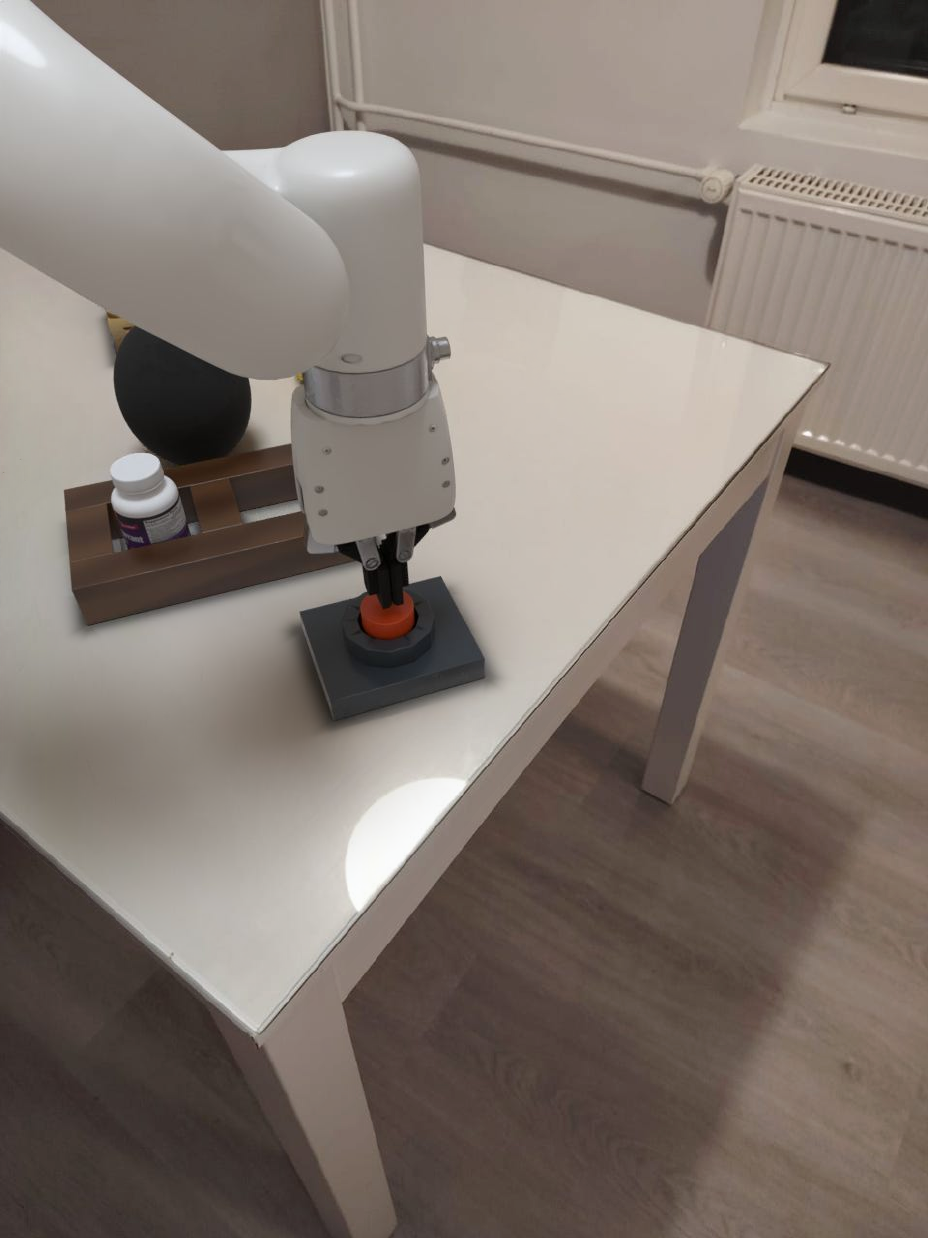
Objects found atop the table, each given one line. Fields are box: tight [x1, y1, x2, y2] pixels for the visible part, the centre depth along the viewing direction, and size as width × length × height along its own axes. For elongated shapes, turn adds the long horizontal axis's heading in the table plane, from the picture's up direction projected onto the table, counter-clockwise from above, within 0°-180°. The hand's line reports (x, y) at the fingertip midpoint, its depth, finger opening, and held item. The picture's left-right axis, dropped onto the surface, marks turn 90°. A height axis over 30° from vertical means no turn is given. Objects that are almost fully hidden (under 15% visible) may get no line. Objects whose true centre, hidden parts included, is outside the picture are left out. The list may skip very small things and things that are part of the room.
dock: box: [63, 442, 378, 626], centre depth 78 cm, size 14×25×4 cm, turn 111°
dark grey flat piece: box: [299, 575, 486, 722], centre depth 67 cm, size 12×10×4 cm
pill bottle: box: [109, 452, 192, 550], centre depth 74 cm, size 5×5×10 cm
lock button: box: [360, 591, 414, 640], centre depth 66 cm, size 4×4×2 cm
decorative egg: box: [112, 326, 253, 466], centre depth 83 cm, size 12×12×15 cm
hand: (387, 594), depth 64 cm, fingers closed
